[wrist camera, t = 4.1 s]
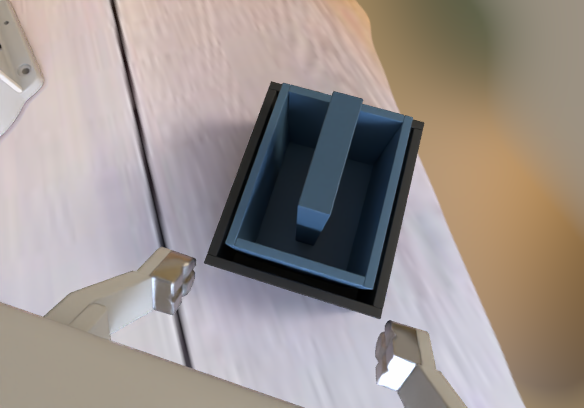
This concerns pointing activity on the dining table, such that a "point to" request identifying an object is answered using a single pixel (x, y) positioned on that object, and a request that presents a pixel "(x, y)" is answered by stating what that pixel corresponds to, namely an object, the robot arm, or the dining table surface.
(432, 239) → the dining table surface
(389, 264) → the tote
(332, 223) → the caddy
